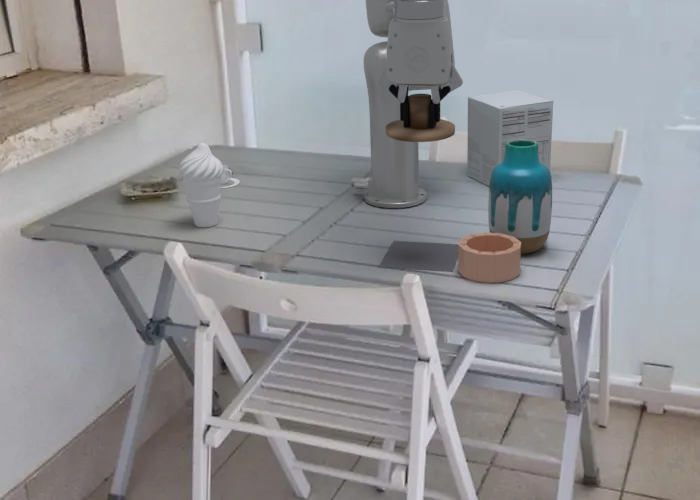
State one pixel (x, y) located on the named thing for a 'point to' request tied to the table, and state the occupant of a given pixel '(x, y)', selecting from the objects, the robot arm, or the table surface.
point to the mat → (421, 256)
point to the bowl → (489, 257)
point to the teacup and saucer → (225, 177)
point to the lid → (419, 123)
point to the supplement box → (505, 128)
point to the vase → (521, 196)
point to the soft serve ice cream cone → (202, 185)
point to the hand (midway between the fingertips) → (420, 124)
